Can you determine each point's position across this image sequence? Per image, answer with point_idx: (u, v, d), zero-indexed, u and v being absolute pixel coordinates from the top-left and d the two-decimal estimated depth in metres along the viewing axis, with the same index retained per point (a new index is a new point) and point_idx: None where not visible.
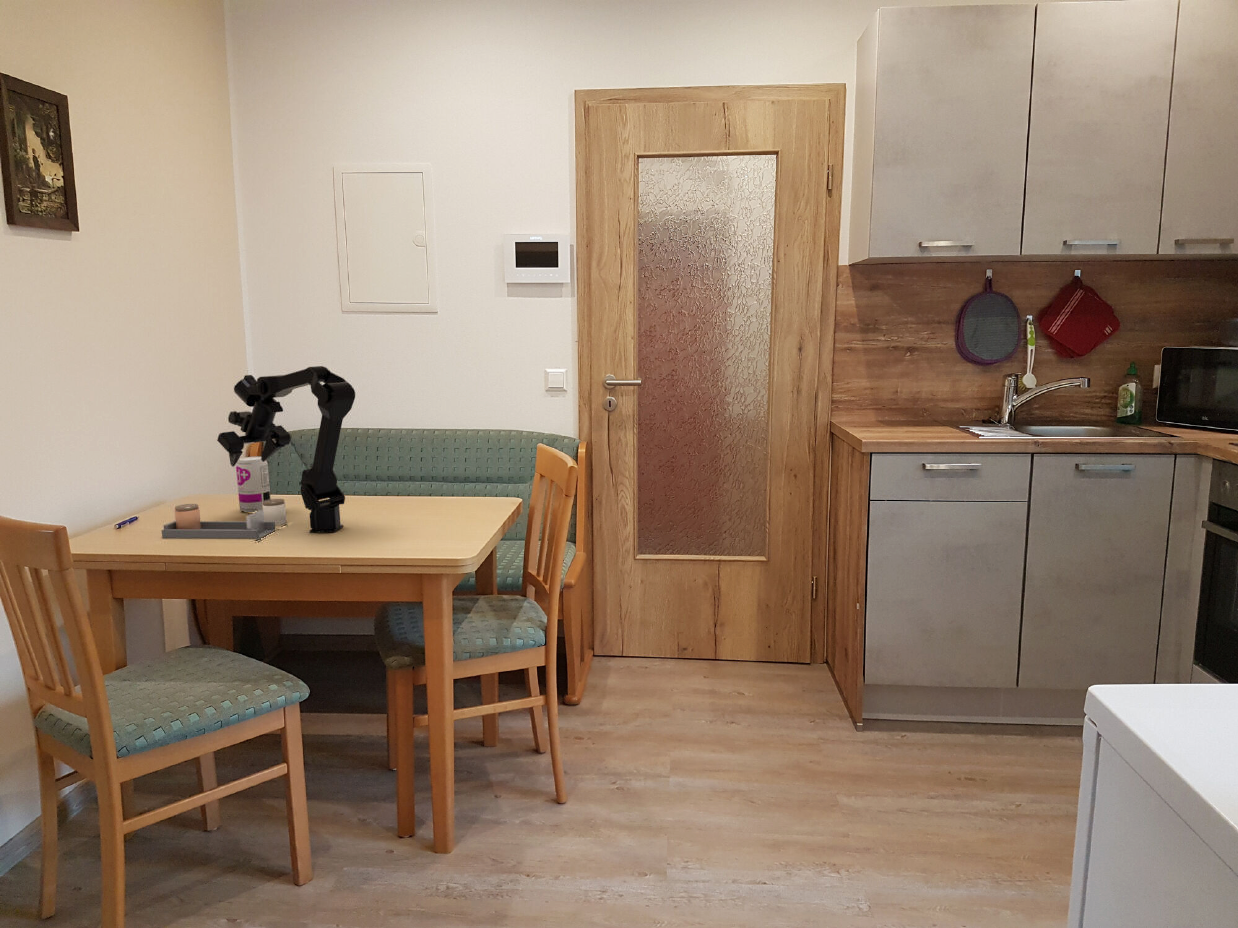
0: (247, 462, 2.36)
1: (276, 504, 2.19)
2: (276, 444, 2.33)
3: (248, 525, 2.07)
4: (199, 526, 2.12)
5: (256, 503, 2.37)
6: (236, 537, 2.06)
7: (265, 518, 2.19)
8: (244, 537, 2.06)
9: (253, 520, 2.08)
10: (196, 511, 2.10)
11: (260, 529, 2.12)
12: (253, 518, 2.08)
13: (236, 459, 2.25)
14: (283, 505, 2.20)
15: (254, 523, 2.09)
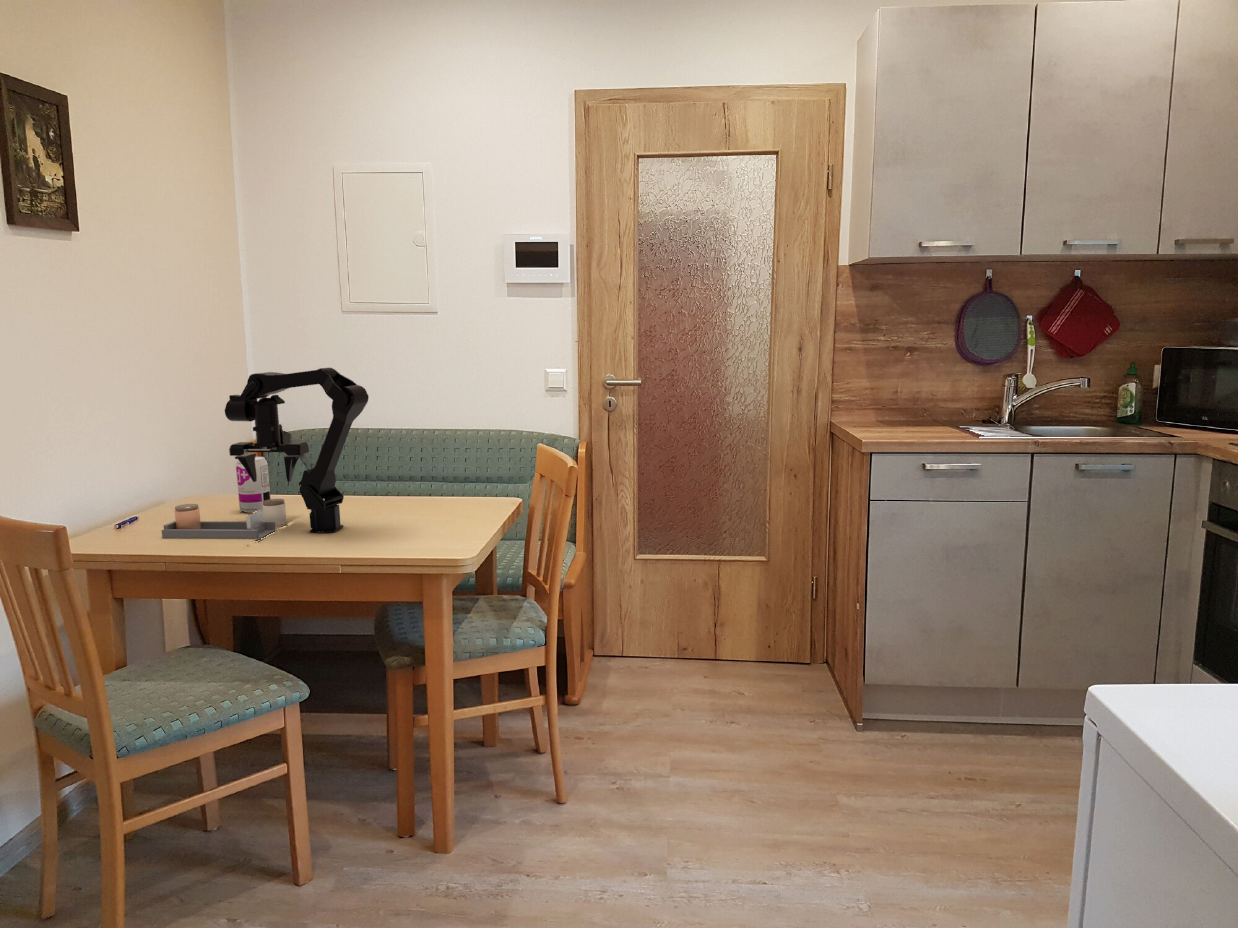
0: None
1: (276, 504, 2.19)
2: (287, 456, 2.16)
3: (248, 525, 2.07)
4: (199, 526, 2.12)
5: (255, 503, 2.37)
6: (236, 537, 2.06)
7: (265, 518, 2.19)
8: (244, 537, 2.06)
9: (253, 520, 2.08)
10: (196, 511, 2.10)
11: (260, 529, 2.12)
12: (253, 518, 2.08)
13: (247, 469, 2.18)
14: (283, 505, 2.20)
15: (254, 523, 2.09)
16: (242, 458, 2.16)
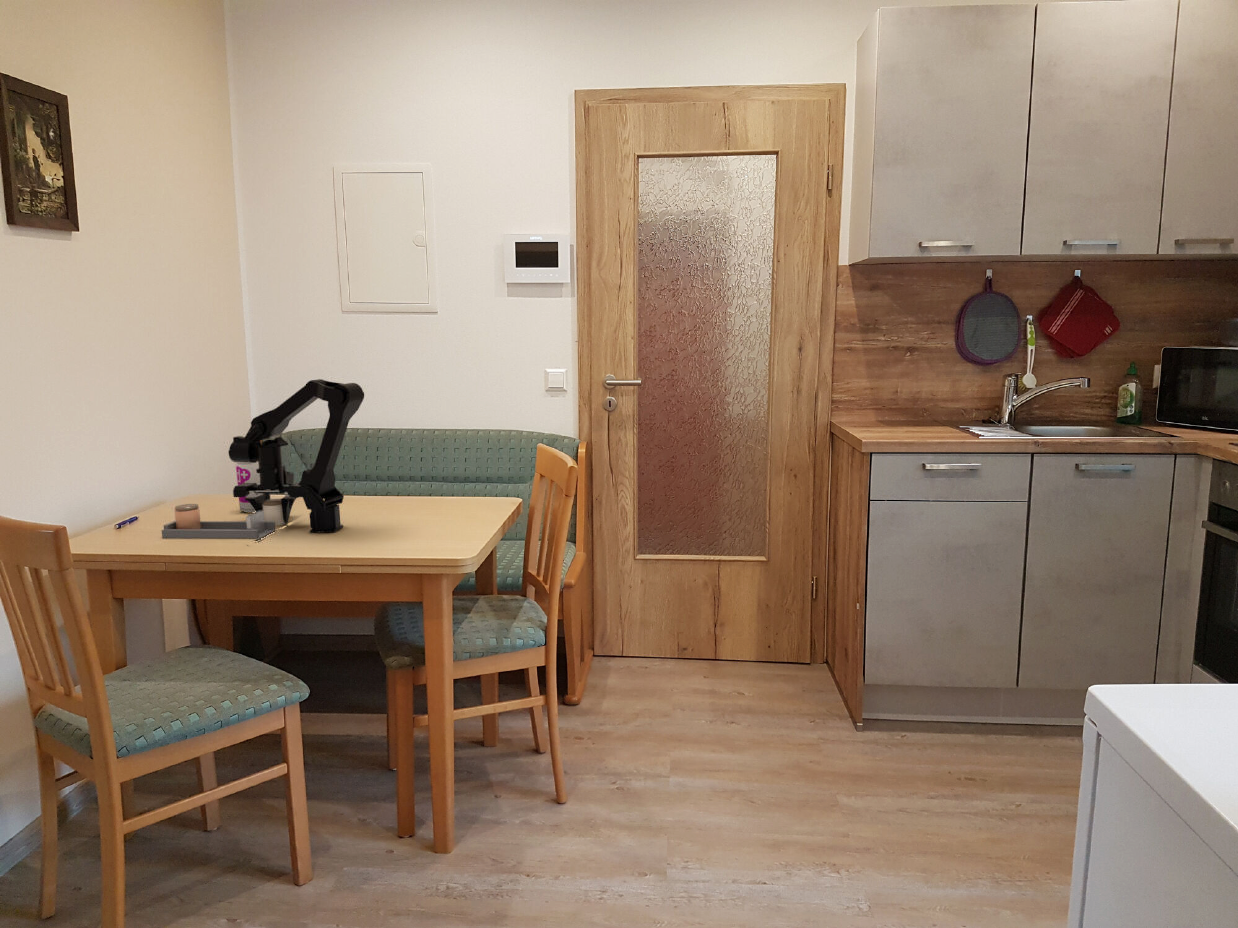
0: None
1: (276, 504, 2.19)
2: (284, 497, 2.18)
3: (248, 525, 2.07)
4: (199, 526, 2.12)
5: None
6: (236, 537, 2.06)
7: (265, 518, 2.19)
8: (244, 537, 2.06)
9: (253, 520, 2.08)
10: (196, 511, 2.10)
11: (260, 529, 2.12)
12: (253, 518, 2.08)
13: (256, 510, 2.19)
14: None
15: (254, 523, 2.09)
16: (252, 499, 2.18)
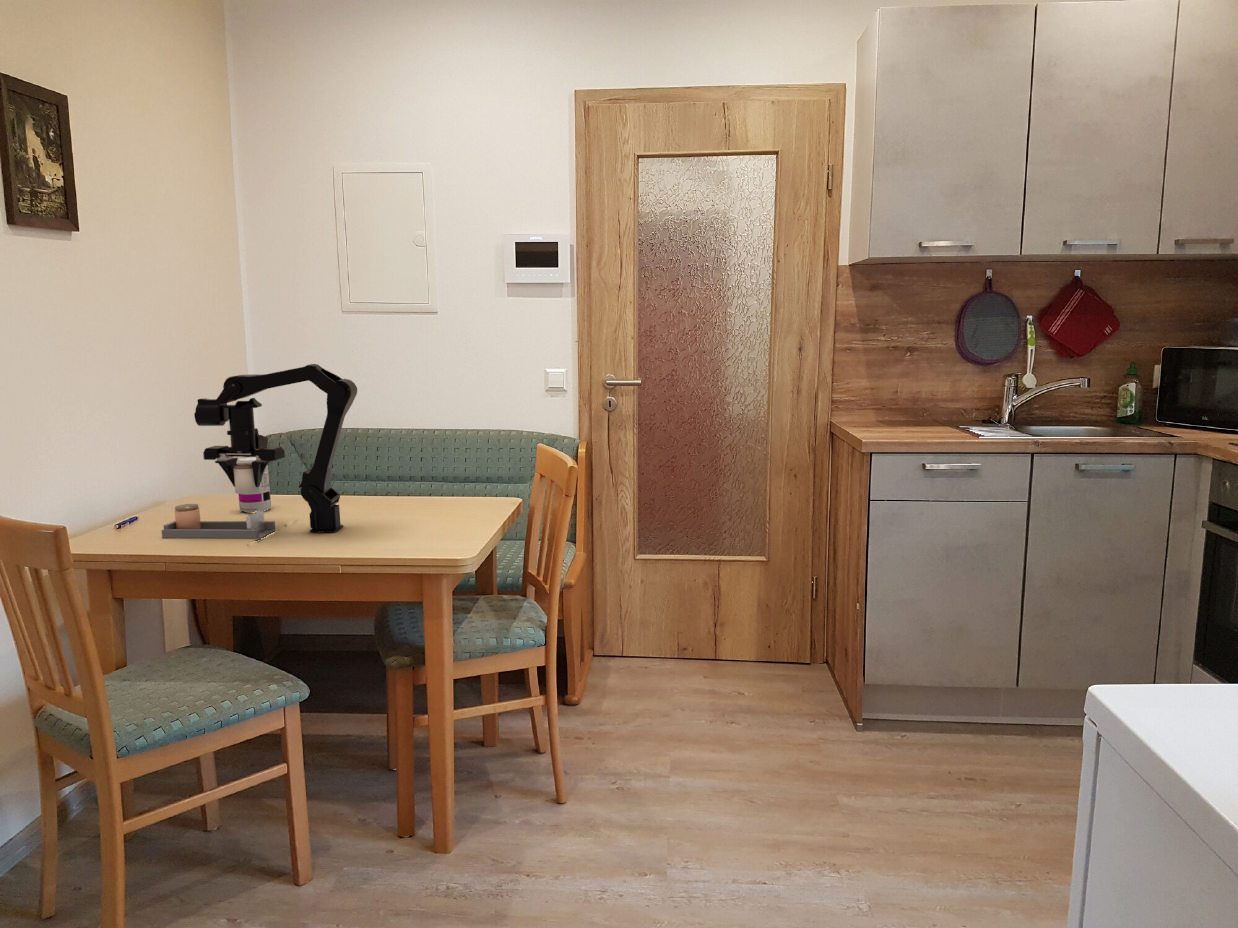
0: (247, 462, 2.36)
1: (247, 467, 2.12)
2: (255, 461, 2.11)
3: (248, 525, 2.07)
4: (199, 526, 2.12)
5: (255, 503, 2.37)
6: (236, 537, 2.06)
7: (236, 482, 2.12)
8: (244, 537, 2.06)
9: (253, 520, 2.08)
10: (196, 511, 2.10)
11: (260, 529, 2.12)
12: (253, 518, 2.08)
13: (227, 473, 2.13)
14: None
15: (254, 523, 2.09)
16: (222, 462, 2.11)
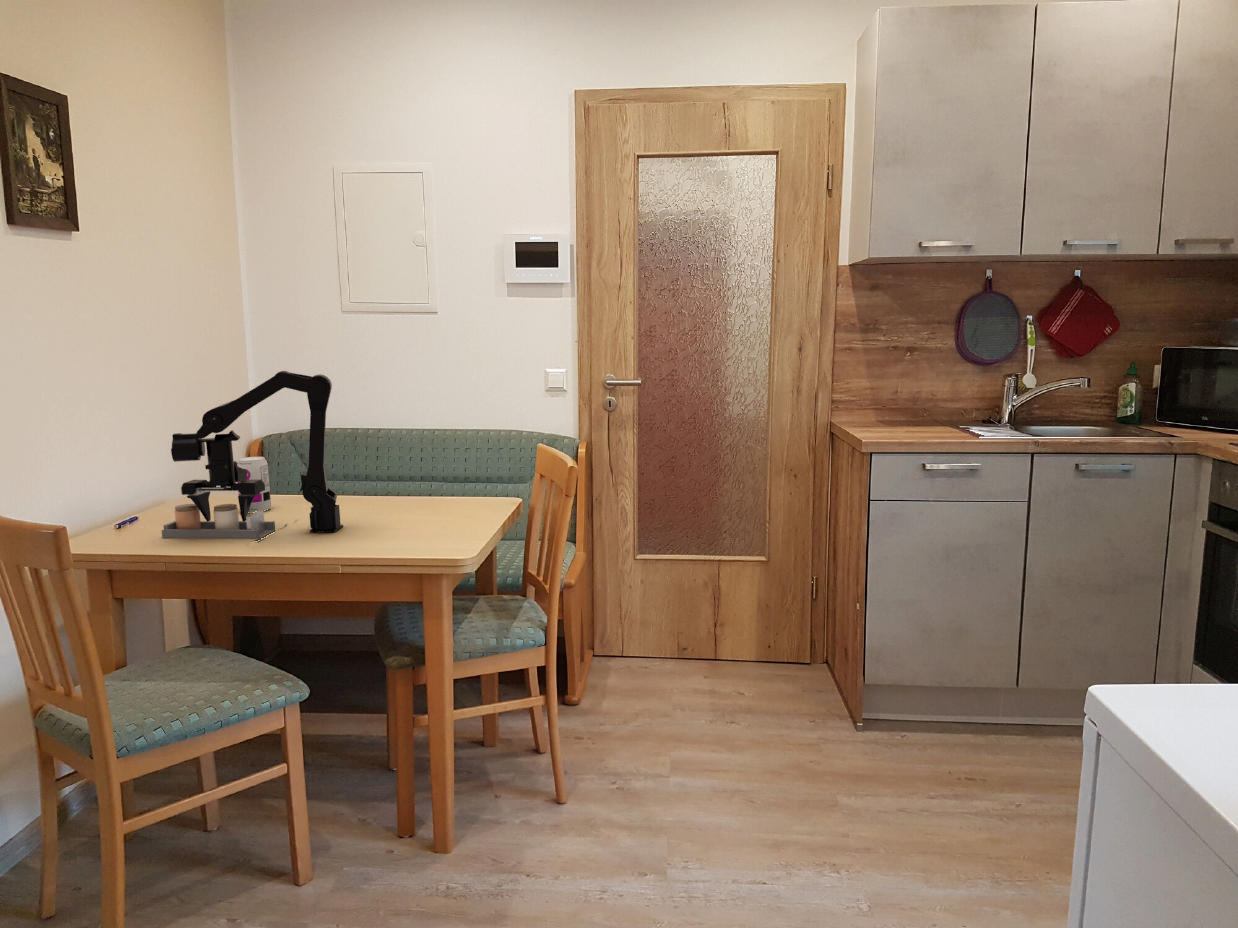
0: (247, 462, 2.36)
1: (228, 509, 2.08)
2: (241, 495, 2.07)
3: (248, 525, 2.07)
4: (199, 526, 2.12)
5: (256, 503, 2.37)
6: (236, 537, 2.06)
7: (216, 524, 2.09)
8: (244, 537, 2.06)
9: (253, 520, 2.08)
10: (196, 511, 2.10)
11: (260, 529, 2.12)
12: (253, 518, 2.08)
13: (200, 508, 2.09)
14: (235, 510, 2.10)
15: (254, 523, 2.09)
16: (194, 497, 2.07)
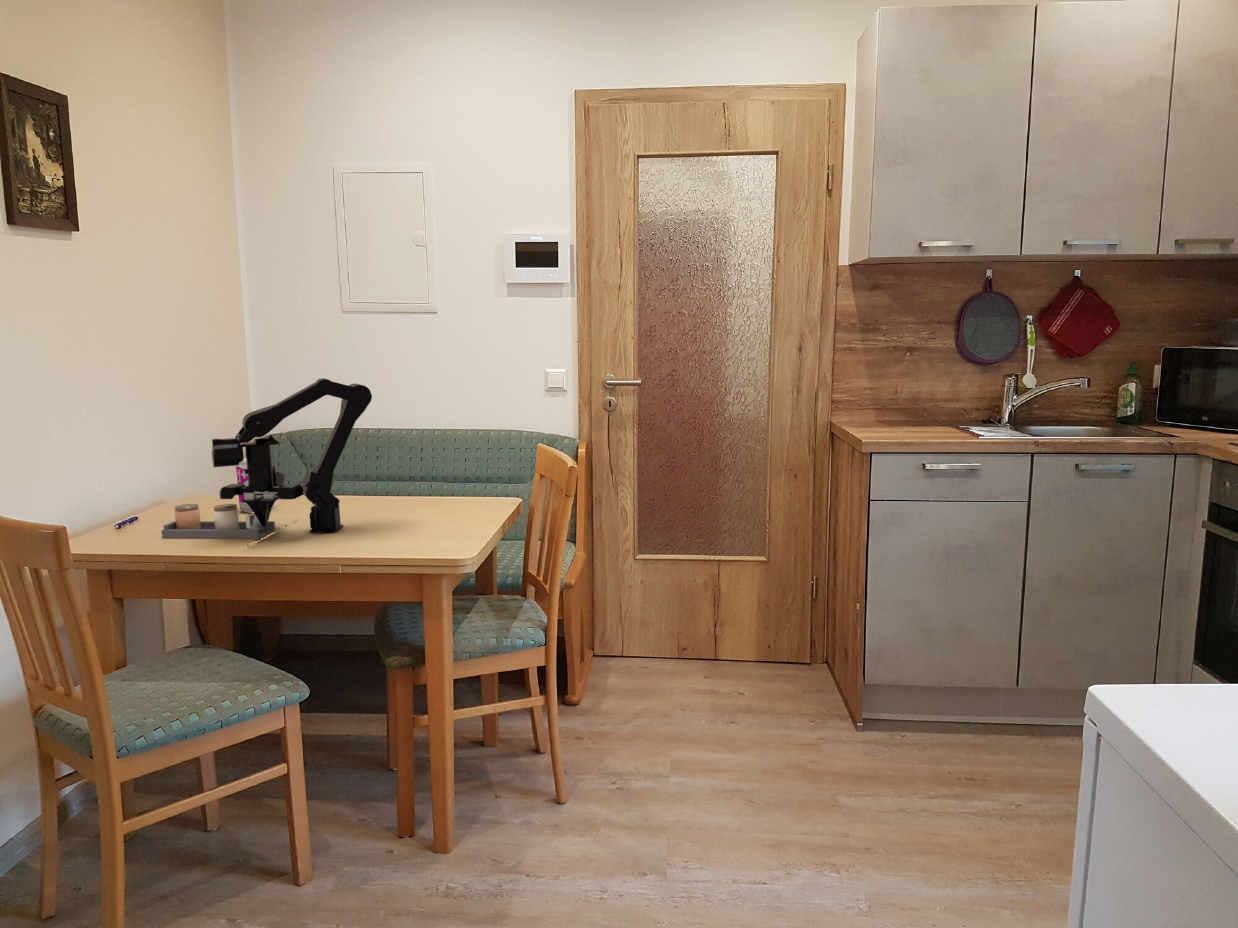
0: None
1: (228, 509, 2.08)
2: (263, 499, 2.07)
3: (247, 525, 2.07)
4: (199, 526, 2.12)
5: None
6: (236, 537, 2.06)
7: (216, 524, 2.09)
8: (244, 537, 2.06)
9: (252, 520, 2.08)
10: (196, 511, 2.10)
11: (259, 529, 2.12)
12: (252, 518, 2.08)
13: (255, 512, 2.08)
14: (235, 510, 2.10)
15: (253, 523, 2.09)
16: (251, 502, 2.06)
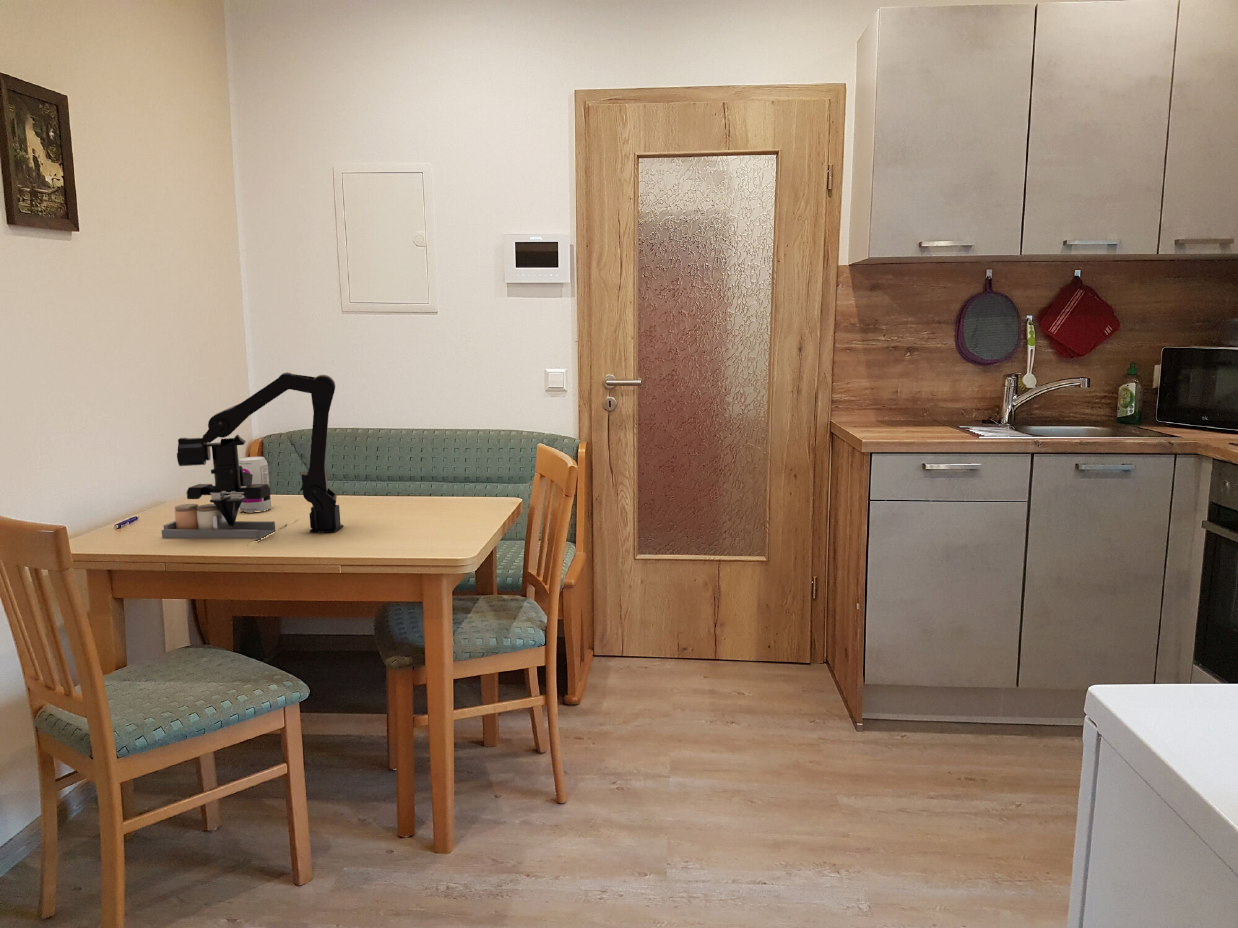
0: (247, 462, 2.36)
1: (211, 509, 2.08)
2: (229, 499, 2.08)
3: (214, 525, 2.08)
4: None
5: (255, 503, 2.37)
6: (236, 537, 2.06)
7: (199, 524, 2.09)
8: (244, 537, 2.06)
9: (219, 520, 2.09)
10: (196, 511, 2.10)
11: (227, 529, 2.12)
12: (219, 518, 2.09)
13: (222, 512, 2.08)
14: (218, 510, 2.10)
15: (220, 523, 2.09)
16: (217, 502, 2.07)
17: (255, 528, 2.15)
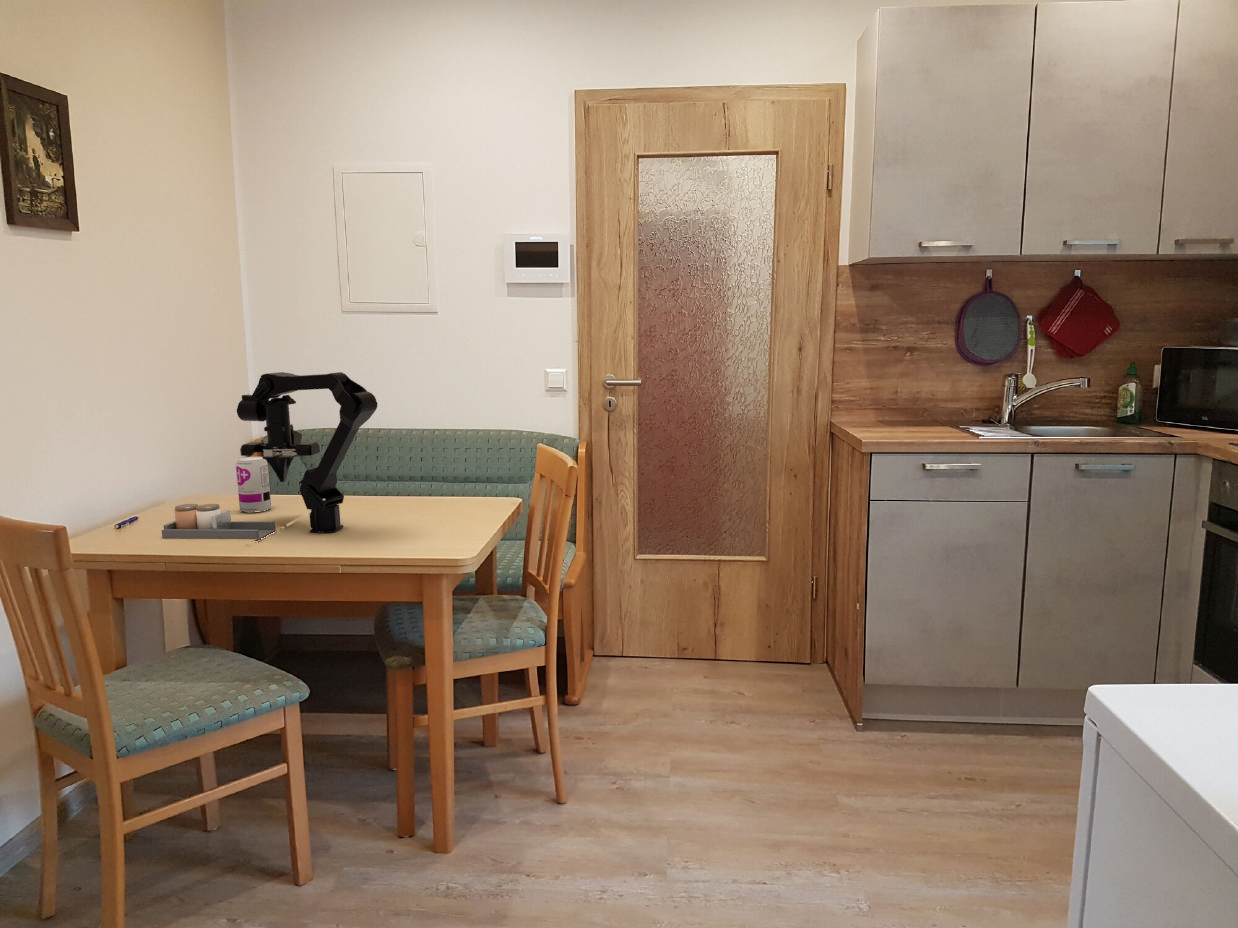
0: (247, 462, 2.36)
1: (210, 509, 2.09)
2: (282, 456, 2.16)
3: (214, 525, 2.08)
4: None
5: (255, 503, 2.37)
6: (236, 537, 2.06)
7: (199, 524, 2.09)
8: (244, 537, 2.06)
9: (218, 520, 2.09)
10: (195, 511, 2.10)
11: (227, 529, 2.12)
12: (219, 518, 2.09)
13: (274, 469, 2.17)
14: (218, 510, 2.10)
15: (220, 523, 2.09)
16: (270, 458, 2.16)
17: (255, 528, 2.15)
